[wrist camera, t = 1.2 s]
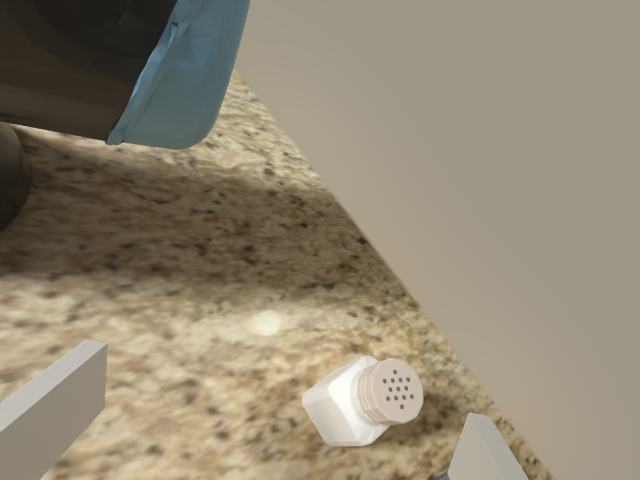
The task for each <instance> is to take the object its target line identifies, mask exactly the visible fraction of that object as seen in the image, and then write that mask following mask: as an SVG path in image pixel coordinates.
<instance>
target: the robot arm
mask: <svg viewBox="0 0 640 480" xmlns="http://www.w3.org/2000/svg"><path fill="white" fill-rule="evenodd" d="M249 5H250V0H0V231H1V230H2V229H3V228H4V227H5V226H6V225H7V224H8V223H9V222H10V221H11V220H12V219H13V218H14V216H15V215H16V214H17V213H18V211H19V210H20V209H21V207H22V205H23V204H24V202H25V200H26V198H27V195H28V192H29V189H30V185H31V167H30V163H29V160H28V157H27V155H26V153H25V151H24V149H23V147H22V145H21V143H20V141H19V139H18V137H17V135H16V134H15V132H14V131H13V129H12V128H11V127H10V125H9V124H8V123H12V124H17V125H22V126H28V127H33V128H38V129H44V130H49V131H54V132H59V133H65V134H70V135H75V136H81V137H86V138H91V139H97V140H102V141H105V143H106V144H108V145H119V144H121V143H123V142H124V143H131V144H138V145H145V146H152V147H159V148H166V149H173V150H179V149H186V148H189V147H191V146H193V145H195V144H197V143H199V142H201V141H202V140H203V139H204V138H206V137H207V135H208V134H209V133H210V131H211V129H212V127H213V126H214V124H215V121H216V119H217V117H218V114H219V111H220V108H221V105H222V102H223V100H224V97H225V93H226V90H227V87H228V84H229V80H230V77H231V74H232V70H233V67H234V63H235V60H236V56H237V52H238V49H239V45H240V41H241V38H242V34H243V30H244V26H245V22H246V18H247V13H248V9H249ZM107 347H108V343H104V342H99V341H94V340H89V339H85V340H84V341H83V342H81V343H80V344H79V345H77V346H76V347H75V348H73V349H72V350H71V351H69V352H68V353H67V354H65V355H64V356H62V357H61V358H60V359H58V360H57V361H56V362H54V363H53V364H52V365H50V366H49V367H48V368H46V369H45V370H43V371H42V372H41V373H39V374H38V375H37V376H35V377H34V378H33V379H31V380H30V381H29V382H27V383H26V384H25V385H23V386H22V387H20V388H19V389H18V390H16V391H15V392H14V393H12V394H11V395H10V396H8V397H7V398H6V399H4V400H3V401H1V402H0V480H40V479H41V478H42V477H43V475H44V474H45V473H46V472H47V471H48V470H49V469H50V468H51V467H52V465H53V464H54V463H55V462H56V461H57V460H58V459H59V458H60V457H61V456H62V454H63V453H64V452H65V451H66V450H67V449H68V448H69V447H70V446H71V444H72V443H73V442H74V441H75V440H76V439H77V438H78V437H79V436H80V435H81V433H82V432H83V431H84V430H85V429H86V428H87V427H88V426H89V425H90V424H91V422H92V421H93V420H94V419H95V418H96V417H97V416H98V415H99V414H100V412H101V411H102V410H103V409H104V405H105V385H106V366H107ZM447 473H448V476H449V479H450V480H529V479H528V477H527V476H526V474H525V473H524V471H523V469H522V468H521V466H520V465H519V463H518V461H517V460H516V458H515V456H514V455H513V453H512V452H511V450H510V448H509V447H508V445H507V444H506V442H505V440H504V439H503V437H502V435H501V434H500V432H499V431H498V429H497V427H496V426H495V424H494V423H493V421H492V419H491V418H490V416H485V415H480V414H475V413H470V412H469V414H468V416H467V419H466V422H465V425H464V428H463V430H462V433H461V436H460V439H459V441H458V444H457V447H456V450H455V453H454V455H453V458H452V461H451V464H450V467H449V469H448V472H447Z"/></svg>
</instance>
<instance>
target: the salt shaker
mask: <svg viewBox="0 0 640 480" xmlns="http://www.w3.org/2000/svg"><path fill="white" fill-rule="evenodd" d="M302 404H303V406H304V408H305V410H306V412H307V413H308V415H309V417H310V418H311V420H312V422H313V423H314V425H315V427H316V428H317V430H318V432H319V434H320V435H321V437H322V439H323V440H324V442H325V443H326V444H328V445H329V446H365V445H368V444H371V443H372V442H373V441H375V440H376V439H377V438H378V437H379V436H380V435H381V434H382V433H383V432H384V431H386V430H387V429H388V428H389V427H390V425H396V424H405V423H407V422H409V421H411V420H413V419H415V418H417V416H418V414H419V412H420V410H421V408H422V406H423V386H422V384H421V381H420V379H419V377H418V375H417V372H416V371H415V370H414V369H413V368H412V367H411V366H410V365H408V364H407V363H406V362H405V361H403V360H399V359H395V358H389V359H386V360H383V361H381V362H378V361H377V360H376V359H375V358H373V357H371V356H370V355H366V356H362V357H360V358H358V359H356V360H354V361H352V362H350V363H348V364H346V365H344V366H342V367H340V368H338V369H336V370H333V371H332V372H331V373H329V374H328V375H327V376H326V377H324V378H323V379H322V380H320V381H319V382H318V383H316V384H315V385H314V386H313V387H311V388H310V389H309V390H307V391H306V392H305V393H304V395H303V397H302Z"/></svg>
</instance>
